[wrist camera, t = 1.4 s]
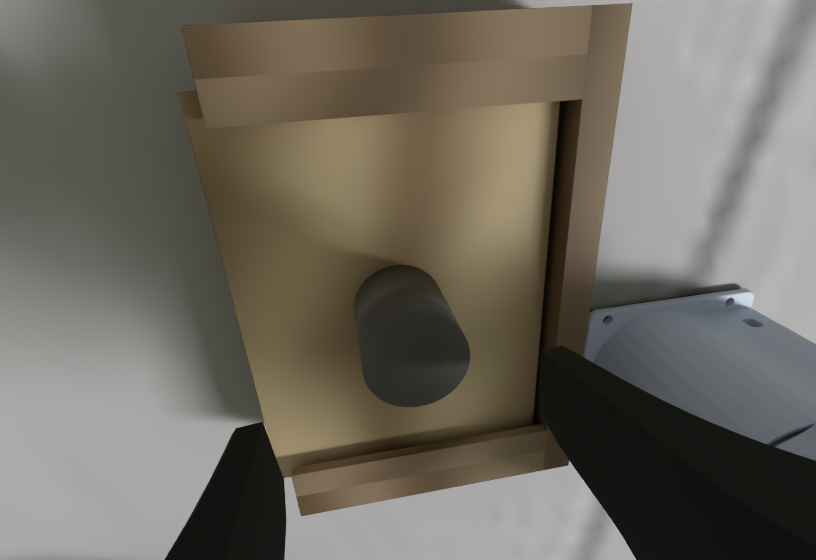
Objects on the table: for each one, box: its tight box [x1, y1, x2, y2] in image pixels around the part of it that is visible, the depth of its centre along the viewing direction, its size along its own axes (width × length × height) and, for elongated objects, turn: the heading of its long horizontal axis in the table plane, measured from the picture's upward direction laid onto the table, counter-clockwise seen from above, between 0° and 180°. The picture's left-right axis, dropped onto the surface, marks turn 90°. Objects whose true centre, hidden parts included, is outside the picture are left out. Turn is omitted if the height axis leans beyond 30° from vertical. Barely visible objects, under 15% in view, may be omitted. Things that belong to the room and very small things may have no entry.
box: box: [181, 3, 632, 516], centre depth 18 cm, size 12×18×5 cm, turn 3°
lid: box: [178, 91, 560, 478], centre depth 15 cm, size 11×15×4 cm
